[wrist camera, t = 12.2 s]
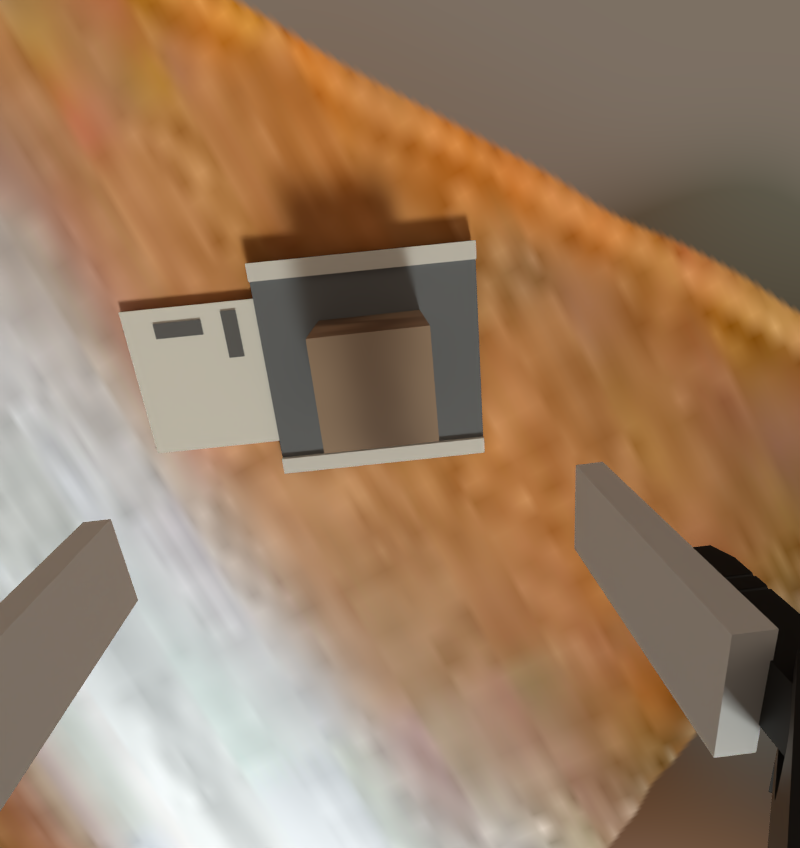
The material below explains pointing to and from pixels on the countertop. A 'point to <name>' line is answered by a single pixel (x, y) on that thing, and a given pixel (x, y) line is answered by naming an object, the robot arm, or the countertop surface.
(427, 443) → the tray
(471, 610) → the countertop surface
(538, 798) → the countertop surface
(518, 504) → the countertop surface
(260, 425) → the beige flat square panel
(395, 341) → the walnut block
